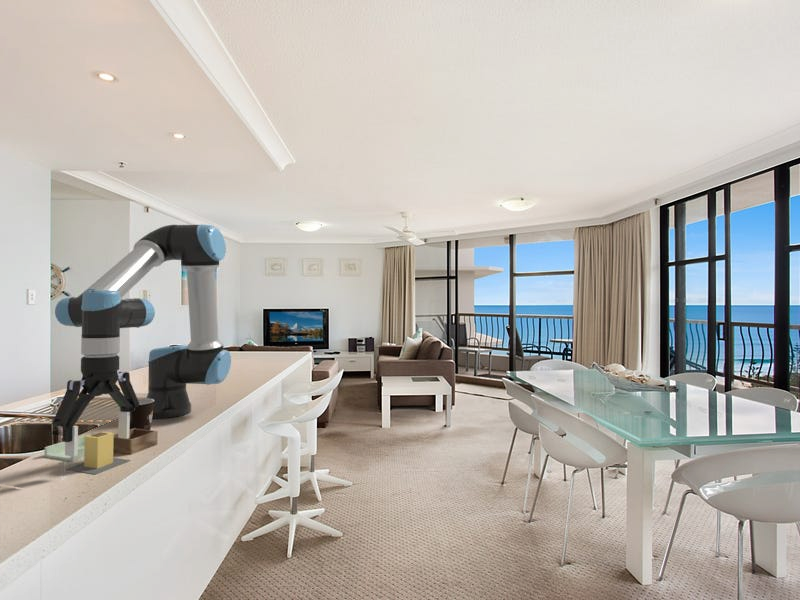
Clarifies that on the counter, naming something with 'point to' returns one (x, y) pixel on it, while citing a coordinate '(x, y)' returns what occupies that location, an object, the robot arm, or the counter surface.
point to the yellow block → (98, 450)
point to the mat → (96, 471)
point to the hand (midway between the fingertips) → (99, 446)
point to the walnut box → (135, 441)
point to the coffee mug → (142, 414)
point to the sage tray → (59, 450)
